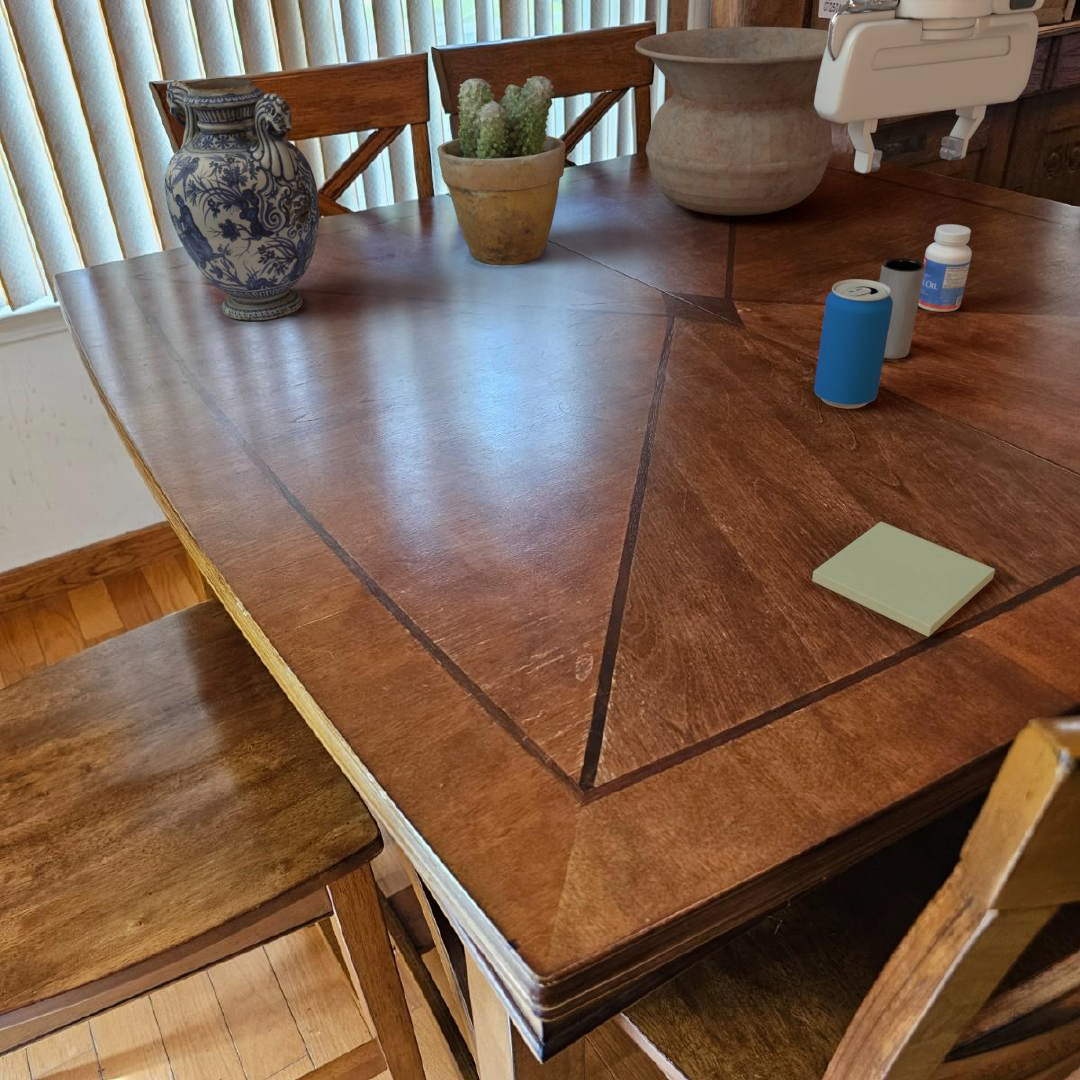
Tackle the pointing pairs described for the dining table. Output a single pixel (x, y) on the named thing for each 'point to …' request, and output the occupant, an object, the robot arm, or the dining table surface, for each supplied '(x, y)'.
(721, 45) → the pot
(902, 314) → the grey cup
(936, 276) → the pill bottle
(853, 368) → the beverage can
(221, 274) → the decorative vase
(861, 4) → the robot arm
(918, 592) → the mat
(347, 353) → the dining table surface
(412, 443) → the dining table surface
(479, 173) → the potted plant
